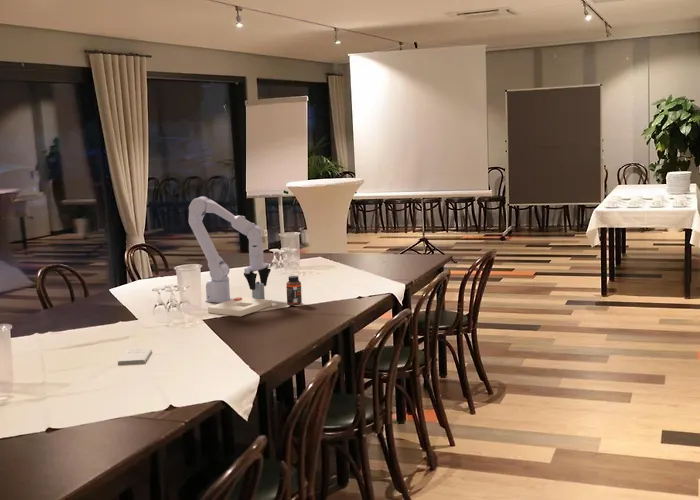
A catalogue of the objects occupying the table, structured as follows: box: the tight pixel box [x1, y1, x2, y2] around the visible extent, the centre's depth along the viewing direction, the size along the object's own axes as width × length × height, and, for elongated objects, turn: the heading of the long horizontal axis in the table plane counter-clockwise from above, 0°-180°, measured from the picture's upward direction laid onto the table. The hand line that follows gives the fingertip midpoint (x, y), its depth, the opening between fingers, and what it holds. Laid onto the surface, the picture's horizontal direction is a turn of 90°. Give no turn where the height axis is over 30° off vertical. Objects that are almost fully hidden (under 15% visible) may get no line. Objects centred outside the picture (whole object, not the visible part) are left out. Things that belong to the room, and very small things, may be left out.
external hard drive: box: [117, 348, 153, 366], centre depth 242 cm, size 2×8×12 cm
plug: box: [251, 281, 266, 300], centre depth 321 cm, size 4×3×8 cm
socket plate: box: [207, 296, 272, 317], centre depth 306 cm, size 16×20×3 cm
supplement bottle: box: [285, 275, 303, 306], centre depth 311 cm, size 6×6×11 cm
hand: (258, 287), depth 320 cm, fingers open, 7 cm apart
